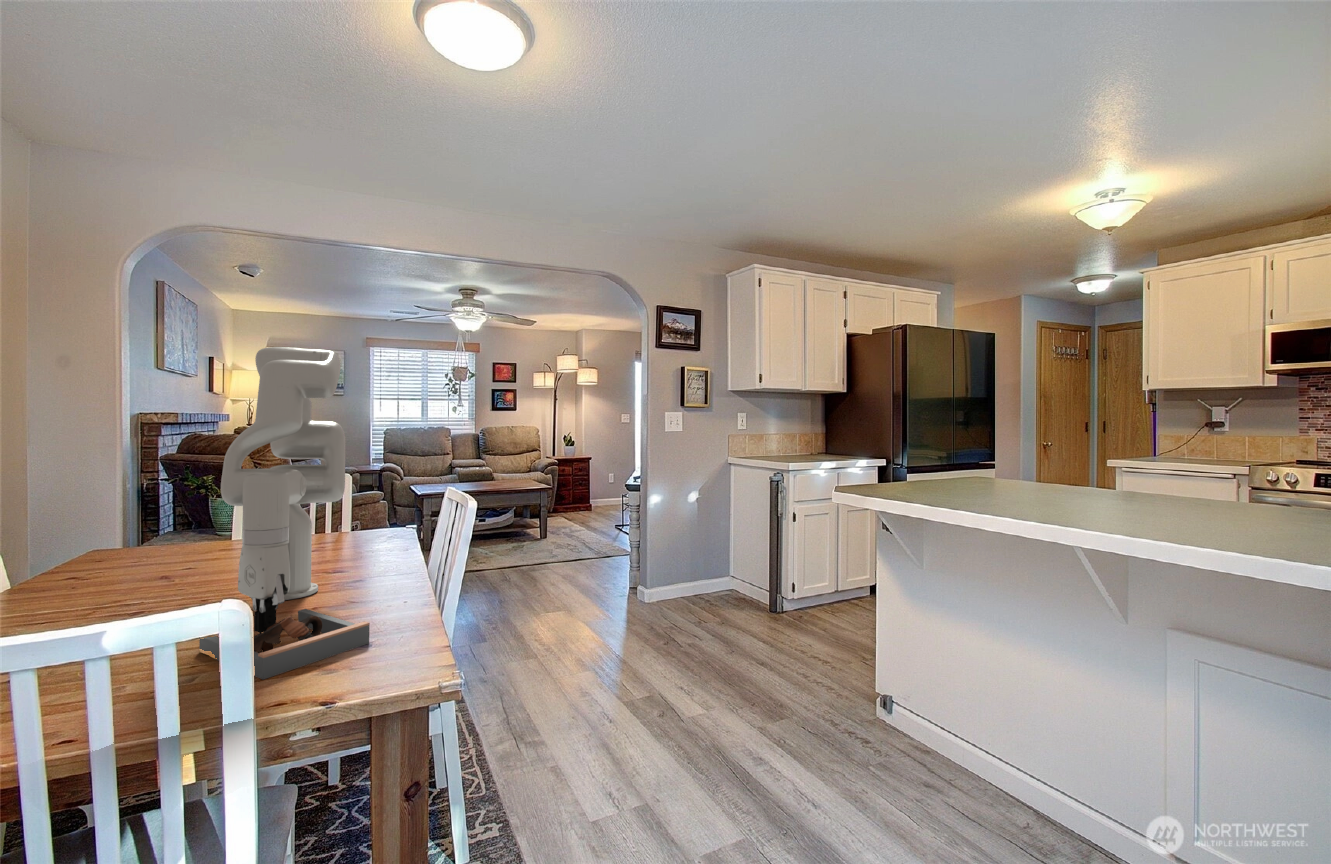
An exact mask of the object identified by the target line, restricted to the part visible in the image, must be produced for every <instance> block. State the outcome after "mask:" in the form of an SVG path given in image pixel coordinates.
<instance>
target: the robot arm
mask: <svg viewBox="0 0 1331 864" xmlns="http://www.w3.org/2000/svg"><path fill="white" fill-rule="evenodd" d="M255 366H256V370H257V373H258V376H259V382H258V389H257V390H258V392H257V399H256V400H257V401H256V409H255V420H254V422H253V423H252V424H251V425H249V427H247V428H246V429H244V430H243V431H241V433H240V434H239V435H238V436H236V438H235V439H234V440H232V443H231V444H230V445H229V447H228V448H227V449H226V450H227V451H226V453H225V456H224V460H223V465H222V473H221V474H222V475H221V479H220V481H221V482H220V493H221V494H220V495H221V498H222V501H223V502H224V503H226V504H227V505H229V506H233V507H242V539H241V541H242V542H241V543H242V544H241V551H240V555H239V556H240V557H239V563H238V576H237V591H238V592H239V594H242V595H245V596H247V597H249V598H250V599H251V601H252V610H253V611H254V612H253V617H254V618H253V620H254V621H253V631H254V632H256V633H258V634H259V633H263V632H265V631H267V628H269V627H270V626H272V625H274V624H276V623H277V609H278V608H279V605H282V604H283V603H285V601H287V600H288V601H289V600H295V599H300V598H305V597H309V596H312V595H313V594H315V593H317V592H318V591H319V584H317V583H315V582H312V552H313V551H312V547H313V546H312V545H313V544H312V541H313V540H312V539H313V538H312V537H313V536H312V535H313V531H312V530H313V522H312V519H311V516H310V515H309V514H308V512H306V510H305V509H304V508H303V507H302V506H301V505H302V504H303V505H304V504H319V503H320V504H322V503H324V504H325V503H334V502H338V501H340V500H341V499H342V498H343V497H344V495H345V494H344V493H345V488H346V435H345V431H344V428H343V427H342V425H341V424H340V423H338V422H335V421H330V420H329V421H328V420H313V419H312V410H313V409H312V407H313V406H312V404H313V402H312V400H311V399H330V398H332V397H333V396H334V395H335V393H336V391H337V388H338V384H339V380H340V379H339V378H340V375H341V360H340V358H339V355H338V354H337V353H336V352H335V351H332V350H328V349H318V348H317V349H316V348H302V347H301V348H300V347H291V346H290V347H288V346H285V347H284V346H271V347H264V348H260V349H259V350H258V351H257V352H256V354H255ZM268 444H270V450H271V453H272V455H274V457H276V458H280V459H283V460H284V459H286V460H287V459H288V460H322V461H323V462H324V463H325V464H279V465H274V466H271V467H270V468H242V466H243V463H244V461H245V459H246V458H247V456H249V455H250V454H251V453H252V452H254V451H255V450H257V449H258V448H260V447H263V446H265V445H268Z"/></svg>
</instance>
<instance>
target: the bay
mask: <svg viewBox="0 0 1331 864" xmlns="http://www.w3.org/2000/svg"><path fill="white" fill-rule="evenodd" d="M313 615H315V616H317V617H319V618H320V619H321V621H322V630H321V632H320V634H319V635H318V636H315V637H311V638H308V639H305V640H301V641H299V640H298V641H295V642H292V643H288V644H285V645H282V646H279V647H274V649H272V650H269V651H265V652H262V653H258V652H255V651H254V666H255V676H254V677H256V678H258V679H259V680H266V679H269V678H272V677H275V676H278V675H281V674H284V673H286V672H290V671H292V670H295V669H299V668H302V667H304V666H307V665H309V664H313V663H315V662H318V661H321V660H324V659H328V658H330V657H334V656H337V655H338V654H341V653H346V652H348V651H351V650H355V649H356V648H360V647H363V646H365V645H368V644H370V626H371V625H370V622H369V621H362V622H357V623H354V622H351V621H347V620H345V619H341V618H337V617H335V616H331V615H327V614H324V613H321V612H319V611H318V612H317V611H315V610H311V609H307V608H304V609H299V610H298V611H297V621H301V620H303V619H305V618H307V617H309V616H313ZM308 629H309V630H312V629H313V625H312V624H311V623H310V624H309V626H308ZM213 636H214V637H207V638H204V639H200V638H199V639H200V640H199V644H198V645H199V646H198V648H199V649H202V650H204V651H211V652H212V654H214V655H215V658H217V660H216V661H217V662H220V661H219V638H220V637H218V636H215V635H213ZM199 649H198V650H199Z"/></svg>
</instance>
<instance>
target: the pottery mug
mask: <svg viewBox="0 0 1331 864" xmlns="http://www.w3.org/2000/svg"><path fill="white" fill-rule="evenodd" d="M310 623H311V624H312V625H313V629H309V628H308V626H309V624H310ZM310 630H311V631H310ZM321 630H322V621H321V619H320V618H319V617H317V616H315V615H313V616H309V617H307V618H305V619H303V620H301V621H298V620H295V619H294V618H293V617H292V615H290V616H285V618H282V619H280V620H279V621H276V624H274V625H272V626H270V627H269V628H267V631H265V632H262V633H258V634H255V635H254V636H253V637H254V651H255V652H257V653H262V652H265V651H269V650H272V649H275V646H274V645H280V644H282V640H281V635H282V633H283V632H285V633H286V634H287V636H289V637H291V638H292V639H297V640H298V641H301V640H305V639H308V638H311V637H315V636H318V635H321Z"/></svg>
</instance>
